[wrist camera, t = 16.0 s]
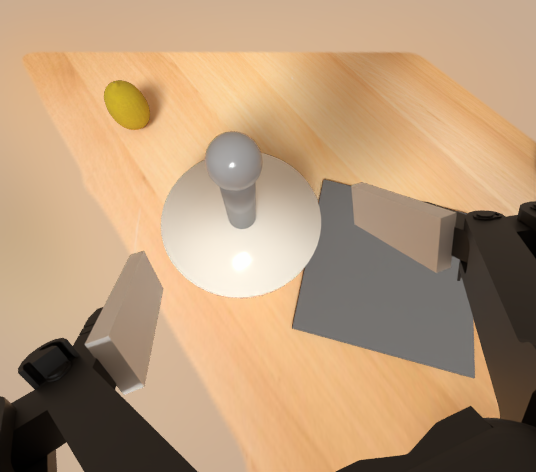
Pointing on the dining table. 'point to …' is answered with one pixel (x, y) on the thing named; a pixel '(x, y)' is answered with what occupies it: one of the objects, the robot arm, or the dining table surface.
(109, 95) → the lemon
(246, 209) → the lid
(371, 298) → the mat
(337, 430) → the dining table surface
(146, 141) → the dining table surface
